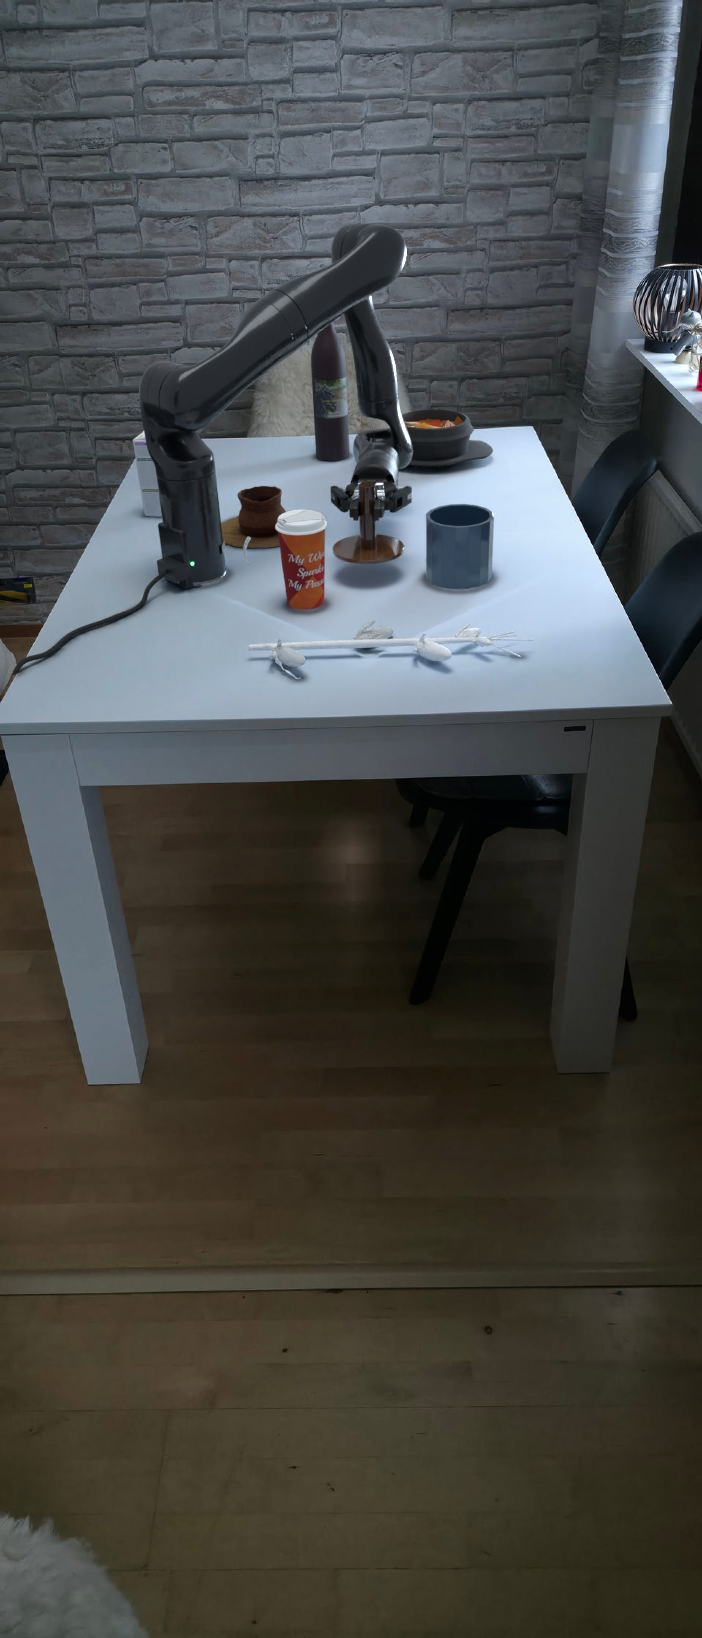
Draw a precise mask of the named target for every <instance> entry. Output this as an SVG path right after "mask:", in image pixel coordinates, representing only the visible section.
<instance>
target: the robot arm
mask: <svg viewBox="0 0 702 1638" xmlns="http://www.w3.org/2000/svg"><path fill="white" fill-rule="evenodd" d="M330 259H331V264H330V265H327V266H325V267H322V268H320V269H317V270H314V271H312V272H309V273H306V274H303V275H300V276H297V277H295V278H292V279H290V280H287V281H285V282H283V283H281V284H279V285H278V286H275V287H274V288H272V289H271V290H269V291H268V292H267V293H265V294H264V295H263V296H262V297H260V298H258V299H257V300H256V301H254V302H253V303H252V304H251V305H249V307H248V308H246V309H245V310H244V312H243V313H242V314H241V316H240V318H239V320H238V321H237V323H236V326H235V328H234V330H233V332H232V335H231V337H230V338H229V340H228V341H227V342H226V343H225V344H224V345H223V346H222V347H221V348H219V349H218V350H217V351H215V352H214V353H212V354H211V355H209V356H208V357H206V358H205V359H203V360H202V361H199V362H198V363H196V364H192V365H188V364H186V363H185V364H184V363H181V362H176V361H173V360H158V361H156V362H153V363H151V364H150V365H149V366H148V367H147V368H146V369H145V370H144V372H143V374H142V376H141V379H140V383H139V388H138V401H139V402H138V403H139V410H140V416H141V422H142V429H143V431H144V433H145V439H146V444H147V449H148V452H149V455H150V457H151V459H152V461H153V462H154V465H155V469H156V475H157V483H158V490H159V498H160V506H161V513H162V517H161V520H162V521H161V522H159V523H158V524H157V530H158V537H159V545H160V551H161V558H160V559H157V560H156V566H157V573H158V575H156V576H155V577H154V578H153V579H152V580H151V581H150V582H149V583H148V584H147V586H146V587H145V589H144V592H143V595H142V598H141V600H140V601H139V602H138V603H137V604H135V605H134V606H133V607H131V608H129V609H126V610H124V611H120V612H117V613H115V614H113V615H110V616H108V617H105V618H103V619H100V620H98V621H97V620H96V621H94V622H91V623H87V624H85V625H82V626H80V627H77V628H75V629H73V630H71V631H69V632H68V633H66V634H65V635H64V636H62V638H60V639H59V640H58V641H57V642H56V643H55V644H54V645H53V646H52V647H50V648H49V649H47V650H46V651H43V652H40V653H37V654H32V655H29V656H26V657H24V658H22V659H21V660H19V662H17V664H16V665H15V667H14V668H13V671H12V673H11V675H12V676H15V675H18V674H19V672H20V670H21V669H22V667H23V666H25V665H26V664H27V663H29V662H33V661H37V660H42V659H45V658H48V656H51V655H52V654H53V653H55V652H56V651H57V650H58V649H59V648H60V647H61V646H62V645H64V644H65V643H66V642H67V641H68V640H70V639H71V638H73V637H74V636H77V635H78V634H81V633H83V632H85V631H88V630H91V629H94V628H97V627H100V626H103V625H107V624H108V623H111V622H114V621H116V620H119V619H121V618H124V617H127V616H129V615H132V614H134V613H136V612H137V611H138V610H140V609H141V608H142V607H143V606H144V605H145V604H146V602H147V601H148V597H149V594H150V591H151V589H152V588H153V587H154V586H155V585H156V584H157V583H158V582H159V581H160V580H162V579H163V578H164V579H165V580H166V581H168V582H170V583H173V584H175V585H178V586H179V587H182V588H184V589H191V588H195V587H203V585H206V584H210V583H213V582H218V581H219V580H221V579H223V578H224V577H225V576H226V575H227V572H228V569H227V566H226V555H225V551H226V544H225V540H224V542H223V537H222V527H221V524H222V518H221V510H220V500H219V492H218V481H217V472H216V462H215V455H214V452H213V451H212V450H211V448H210V447H209V446H208V445H207V444H206V442H204V440H203V439H202V438H201V435H200V433H199V432H198V431H199V430H202V429H204V428H205V427H208V425H209V424H211V423H212V422H213V421H214V420H216V418H218V417H219V416H220V415H221V414H222V413H223V412H224V411H225V410H226V409H227V408H228V407H229V406H230V405H231V404H232V402H234V401H235V400H236V399H237V398H238V397H239V396H240V395H241V394H242V393H243V392H244V391H245V390H246V389H248V388H249V387H250V386H252V385H253V384H254V383H255V382H257V381H258V380H259V379H261V378H262V377H263V376H264V375H266V374H267V373H268V372H269V371H272V369H274V367H276V366H277V365H278V364H280V363H281V362H283V361H284V360H286V359H288V358H289V357H290V356H292V355H293V354H294V353H296V352H297V351H298V350H299V349H300V348H302V347H303V346H304V345H306V344H307V343H308V342H309V341H310V340H311V339H313V338H315V336H317V335H318V333H319V332H320V331H322V330H323V329H324V328H326V327H327V326H328V325H330V324H331V323H332V322H333V323H334V322H335V321H337V320H338V319H339V318H340V317H341V316H342V315H343V317H344V321H345V325H346V329H347V332H348V337H349V342H350V347H351V350H352V357H353V362H354V370H355V372H354V373H355V381H356V391H357V392H356V393H357V402H358V409H359V412H360V413H361V415H362V416H363V417H365V418H368V419H373V420H374V419H375V420H379V421H382V422H385V423H386V424H387V426H388V427H384V428H373V429H371V428H370V429H365V430H362V431H360V432H358V434H356V436H355V438H354V439H353V445H352V451H353V457H354V461H355V463H356V464H355V466H354V469H353V473H352V476H351V479H350V483H349V484H347V485H346V486H345V488H343V487H339V486H337V485H332V486H330V502H331V504H333V506H334V507H336V508H337V509H338V510H339V511H340V512H341V513H347V512H349V514H348V515H349V518H352V519H353V521H354V522H355V521H357V522H358V521H359V484H360V483H363V482H372V483H375V490H376V502H375V505H374V521H376V522H379V521H380V519H383V518H384V516H385V514H386V512H387V511H389V513H393V514H394V513H398V512H399V511H400V510H402V509H404V508H406V507H407V506H408V505H410V504H411V503H413V502H412V501H413V499H412V498H413V493H412V492H413V487H412V486H410V485H405V486H403V487H399V486H398V484H399V475H400V474H399V470H402V469H404V468H406V467H408V466H409V465H408V464H409V463H410V461H411V459H412V456H413V446H412V442H411V438H410V436H409V433H408V430H407V428H406V425H405V423H404V420H403V417H402V414H403V413H402V410H401V406H400V405H401V404H400V397H399V388H398V387H399V385H398V374H397V366H396V361H395V358H394V354H393V351H392V349H391V346H390V344H389V342H388V340H387V337H386V336H385V334H384V331H383V329H382V327H381V325H380V322H379V319H378V318H377V317H378V316H377V314H376V311H375V310H376V309H375V306H374V302H373V295H375V294H378V293H379V292H381V291H383V290H384V289H386V288H388V287H389V286H390V285H392V284H393V283H394V282H395V281H396V280H397V279H398V278H399V276H400V274H401V273H402V271H403V268H404V266H405V264H406V259H407V243H406V241H405V239H404V236H403V235H402V234H401V232H399V230H397V229H396V228H394V227H393V226H390V225H386V224H383V223H370V222H367V223H365V222H350V223H349V222H348V223H346V224H344V225H342V226H341V227H339V229H338V230H337V231H336V233H335V234H334V237H333V239H332V241H331V248H330Z"/></svg>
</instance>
